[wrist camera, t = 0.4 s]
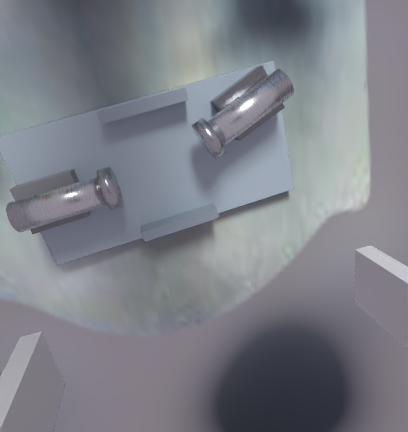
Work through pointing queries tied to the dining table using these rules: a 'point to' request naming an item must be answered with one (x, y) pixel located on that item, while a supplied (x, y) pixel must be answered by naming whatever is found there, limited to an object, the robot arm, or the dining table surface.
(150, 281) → the dining table surface
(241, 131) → the shaft
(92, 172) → the bench
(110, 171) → the shaft
